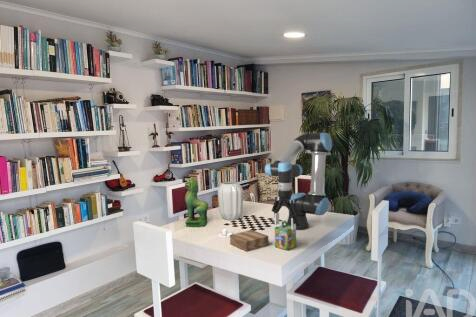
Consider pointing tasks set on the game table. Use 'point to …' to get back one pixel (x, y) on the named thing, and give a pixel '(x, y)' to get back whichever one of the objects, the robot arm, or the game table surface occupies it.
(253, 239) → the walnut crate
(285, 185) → the robot arm
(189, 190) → the lion statue
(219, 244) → the game table surface
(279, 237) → the chalk box
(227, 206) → the vase
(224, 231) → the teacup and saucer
